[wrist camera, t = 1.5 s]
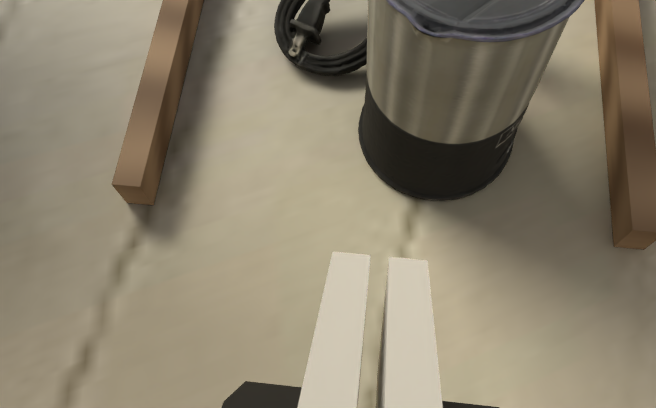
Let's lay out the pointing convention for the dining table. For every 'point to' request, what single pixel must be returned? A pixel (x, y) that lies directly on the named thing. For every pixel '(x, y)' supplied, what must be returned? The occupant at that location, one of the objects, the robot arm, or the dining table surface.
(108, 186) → the dining table surface
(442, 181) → the milk frother
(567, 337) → the dining table surface
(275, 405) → the robot arm
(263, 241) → the dining table surface
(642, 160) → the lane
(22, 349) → the dining table surface
